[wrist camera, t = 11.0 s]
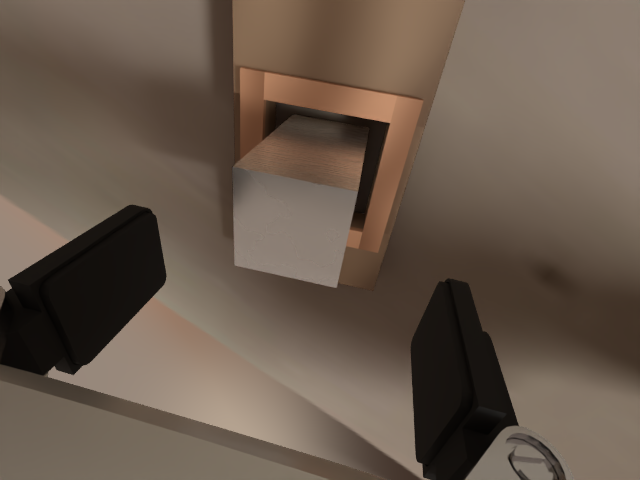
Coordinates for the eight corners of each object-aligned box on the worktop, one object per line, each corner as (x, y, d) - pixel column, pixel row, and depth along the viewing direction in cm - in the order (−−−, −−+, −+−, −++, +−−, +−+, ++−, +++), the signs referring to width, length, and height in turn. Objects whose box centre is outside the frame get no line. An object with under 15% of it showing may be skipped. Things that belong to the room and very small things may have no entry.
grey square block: (369, 128, 18) (357, 191, 11) (354, 197, 21) (336, 288, 13) (293, 114, 19) (232, 166, 11) (287, 184, 21) (234, 265, 14)
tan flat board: (687, -754, 7) (806, -1064, 5) (374, 273, 24) (372, 294, 22) (254, -753, 8) (208, -1027, 6) (246, 245, 24) (234, 263, 22)
